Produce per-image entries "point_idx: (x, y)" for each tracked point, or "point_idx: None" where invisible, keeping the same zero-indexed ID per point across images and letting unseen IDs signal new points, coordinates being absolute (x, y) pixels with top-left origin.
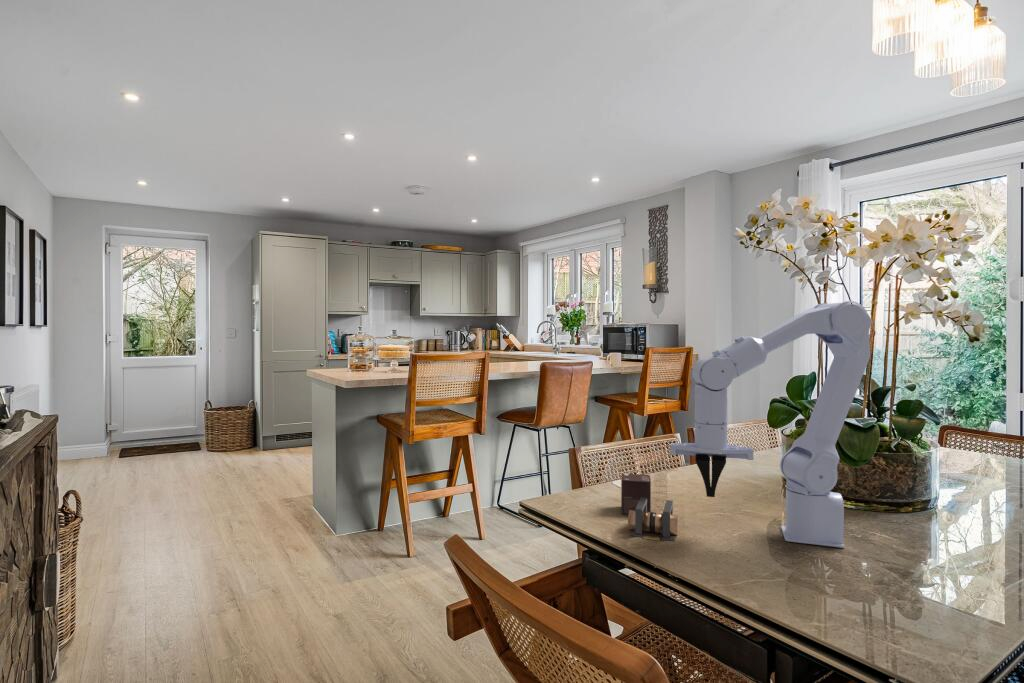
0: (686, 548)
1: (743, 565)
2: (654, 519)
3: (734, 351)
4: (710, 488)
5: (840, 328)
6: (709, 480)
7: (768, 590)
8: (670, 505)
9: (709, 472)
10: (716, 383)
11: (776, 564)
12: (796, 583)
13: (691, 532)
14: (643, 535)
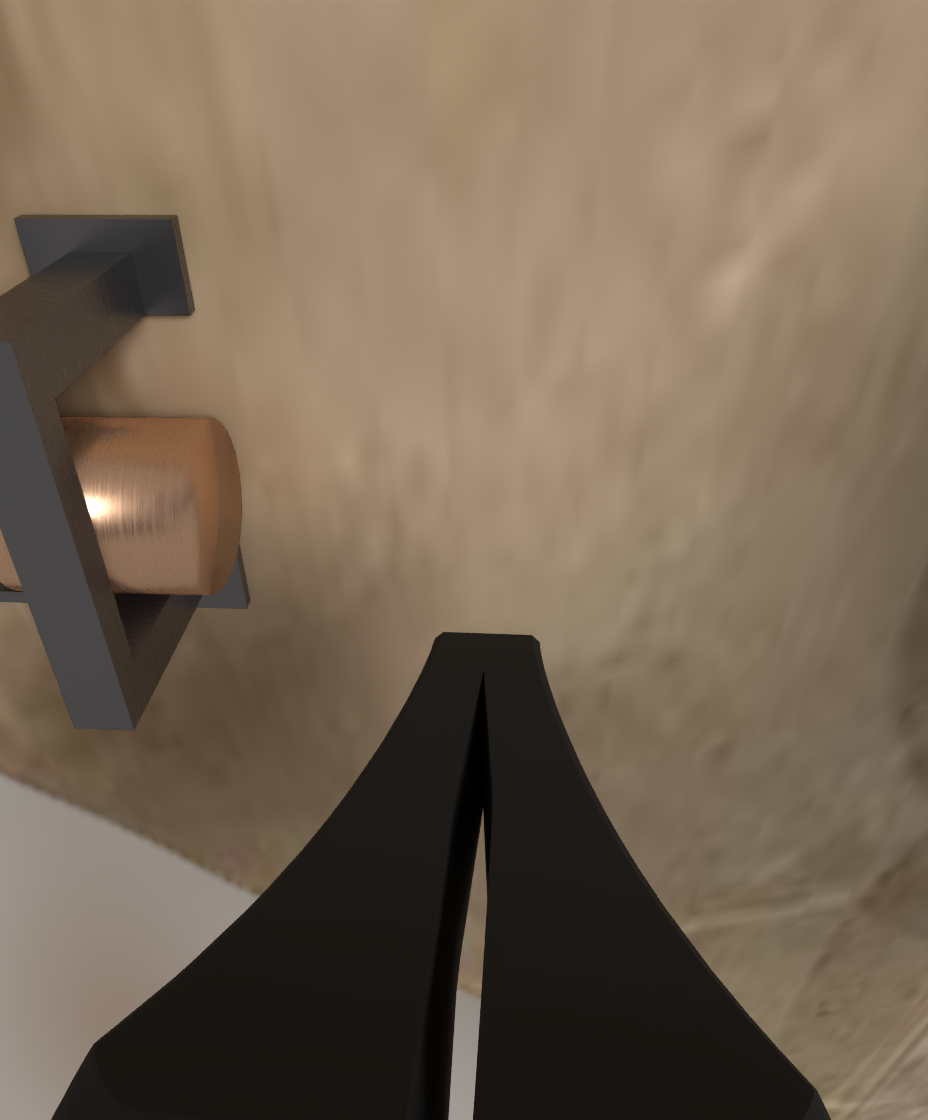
0: (351, 687)
1: (678, 813)
2: (18, 591)
3: None
4: (479, 785)
5: None
6: (458, 965)
7: (737, 982)
8: (62, 545)
9: (448, 1095)
10: None
11: (881, 764)
12: (895, 917)
13: (336, 368)
14: (25, 598)
